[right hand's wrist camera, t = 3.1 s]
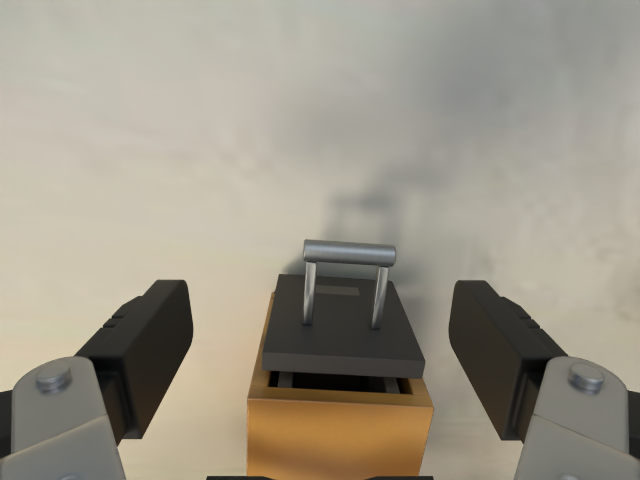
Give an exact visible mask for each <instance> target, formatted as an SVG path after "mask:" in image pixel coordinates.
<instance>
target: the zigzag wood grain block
mask: <svg viewBox="0 0 640 480" xmlns="http://www.w3.org/2000/svg"><path fill="white" fill-rule="evenodd" d="M274 295H275V293H272V295H271V299H270V303H269V307H268V312H267V316H266V320H265V325H264V329H263V333H262V337H261V342H260V346H259V350H258V355H257V359H256V363H255V367H254V372H253V376H252V380H251V385H250V389H249V393H248V398H247V476H264V477H268V478H271V479H275V480H365V479H369V478H372V477H376V476H418V475H419V471H420V467H421V463H422V458H423V454H424V450H425V446H426V441H427V437H428V433H429V428H430V424H431V420H432V416H433V411H434V406H433V404H432V401H431V398H430V396H429V393H428V391H427V388H426V385H425V383H424V380H423V377H422V379H414V378H396V381H397V384H398V388H399V391H400V394H392V393H373V392H354V391H336V390H317V389H298V388H279V387H278V380H279V373H280V371H267V370H262V351H263V346H264V341H265V337H266V332H267V328H268V323H269V318H270V314H271V309H272V304H273V300H274Z"/></svg>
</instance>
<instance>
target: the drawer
mask: <svg viewBox="0 0 640 480" xmlns="http://www.w3.org/2000/svg"><path fill="white" fill-rule="evenodd" d="M303 260H304V261H306V275H305V276H302V275H287V274H279V277H278V281H277V286H276V291H275V295H274V300H273V304H272V309H271V314H270V318H269V323H268V328H267V332H266V337H265V341H264V346H263V351H262V370H267V371H280V373H279V380H278V387H279V388H298V389H317V390H336V391H354V392H373V393H392V394H400V391H399V388H398V384H397V381H396V378H414V379H422V376H423V371H424V366H425V359H424V357H423V354H422V352H421V349H420V347H419V345H418V342H417V340H416V337H415V335H414V333H413V330H412V328H411V325H410V323H409V321H408V318H407V316H406V314H405V311H404V309H403V306H402V304H401V302H400V299H399V297H398V294H397V292H396V290H395V287H394V285H393V282H392V281H388V275H389V266H391V267H392V266H394V264H395V261H396V248H395V246H394V245H382V244H367V243H352V242H337V241H322V240H307V239H306V240H304V250H303ZM317 262H330V263H345V264H360V265H376V266H377V273H376V280H365V279H350V278H334V277H318V276H316V270H317Z"/></svg>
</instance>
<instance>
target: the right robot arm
mask: <svg viewBox="0 0 640 480" xmlns="http://www.w3.org/2000/svg"><path fill="white" fill-rule="evenodd" d="M192 338H193V321H192V314H191V307H190V300H189V293H188V286H187V283H186V282H185V280H157V281H156V282H155V283H154V284H153V285H152V286H151V287H150V288H149V289H148V290H147V291H146V293H145V294H144V295H143V296H138V297H136V298H134V299H132V300H131V301H129V302H127V303H126V304H124V305H122V306H121V307H120V308H119V309H118V310H117V311H116V312H115V313H114V314H113V316H112V318H111V319H109V320H108V321H107V322H106V323H105V324H104V325H103V328H100V329H99V330H98V331H97V332H96V333H95V334H94V335H93V336H92V337H91V338H90V339H89V341H88V342H87V343H86V344H85V345H84V346H83V347H82V348H81V349H80V350H79V351H78V352H77V353H76V354H75V355H74V356H72V357H64V358H59V359H56V360H52V361H50V362H47V363H45V364H42V365H40V366H38V367H36V368H34V369H33V370H31V371H30V372H28V373H27V374H25V375H24V376H23V377H22V378H21V379H20V380H19V381H18V382H17V383H16V384H15V386H14V388H13V390H9V391H4V392H0V480H126V477H125V473H124V470H123V466H122V463H121V459H120V456H119V452H118V449H117V447H118V445H119V443H120V442H121V440H122V439H142V437H143V435H144V433H145V432H146V430H147V428H148V426H149V424H150V422H151V420H152V418H153V416H154V414H155V413H156V411H157V409H158V407H159V405H160V403H161V401H162V399H163V397H164V395H165V393H166V392H167V390H168V388H169V386H170V384H171V382H172V380H173V378H174V376H175V374H176V373H177V371H178V369H179V367H180V365H181V363H182V361H183V359H184V357H185V355H186V353H187V352H188V350H189V348H190V346H191V343H192ZM449 339H450V343H451V346H452V349H453V350H454V352H455V354H456V356H457V358H458V360H459V362H460V364H461V365H462V367H463V369H464V371H465V373H466V375H467V377H468V379H469V381H470V382H471V384H472V386H473V388H474V390H475V392H476V394H477V396H478V397H479V399H480V401H481V403H482V405H483V407H484V409H485V411H486V413H487V414H488V416H489V418H490V420H491V422H492V424H493V426H494V428H495V429H496V431H497V433H498V435H499V437H500V439H501V440H521V441H522V443H523V444H524V445H523V449H522V452H521V456H520V459H519V463H518V466H517V470H516V473H515V477H514V480H640V393H638V392H633V391H628V390H627V388H626V386H625V384H624V383H623V382H622V381H621V380H620V379H619V378H618V377H617V376H616V375H615V374H613V373H612V372H610V371H609V370H607V369H606V368H604V367H602V366H600V365H598V364H595V363H593V362H590V361H588V360H584V359H581V358H576V357H569V356H568V355H567V354H566V353H565V352H564V351H563V350H562V349H561V348H560V347H559V346H558V345H557V344H556V342H555V341H554V340H553V339H552V338H551V337H550V336H549V335H548V334H547V333H546V332H545V331H544V330H543V329H540V326H539V325H538V324H537V323H536V322H535V321H534V320H533V319H531V317H530V316H529V315H528V314H527V313H526V311H525V310H524V309H523V308H522V307H521V306H519V305H517V304H516V303H514V302H512V301H511V300H509V299H507V298H505V297H500V296H499V295H498V294H497V293H496V292H495V291H494V290H493V288H492V287H491V286H490V285H489V284H488V283H487V282H486V281H484V280H459V281H457V282H456V284H455V287H454V293H453V300H452V307H451V314H450V321H449ZM206 480H275V479H271V478H268V477H264V476H207V479H206ZM365 480H434V479H433V476H376V477H372V478H369V479H365Z"/></svg>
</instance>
